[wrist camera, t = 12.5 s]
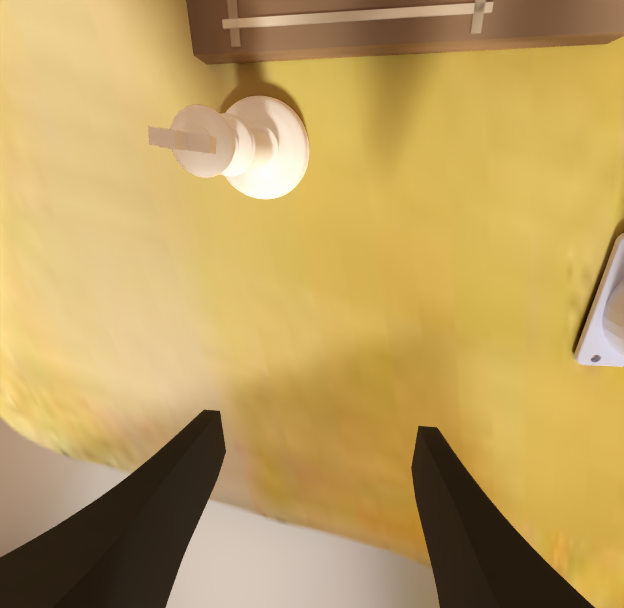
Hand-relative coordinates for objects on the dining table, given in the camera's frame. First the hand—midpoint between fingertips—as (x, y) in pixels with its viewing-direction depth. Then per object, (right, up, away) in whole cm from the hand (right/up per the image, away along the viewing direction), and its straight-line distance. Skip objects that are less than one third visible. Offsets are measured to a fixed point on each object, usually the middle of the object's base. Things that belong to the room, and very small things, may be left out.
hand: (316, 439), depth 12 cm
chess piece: (-3, +13, +6) cm, 15 cm away
